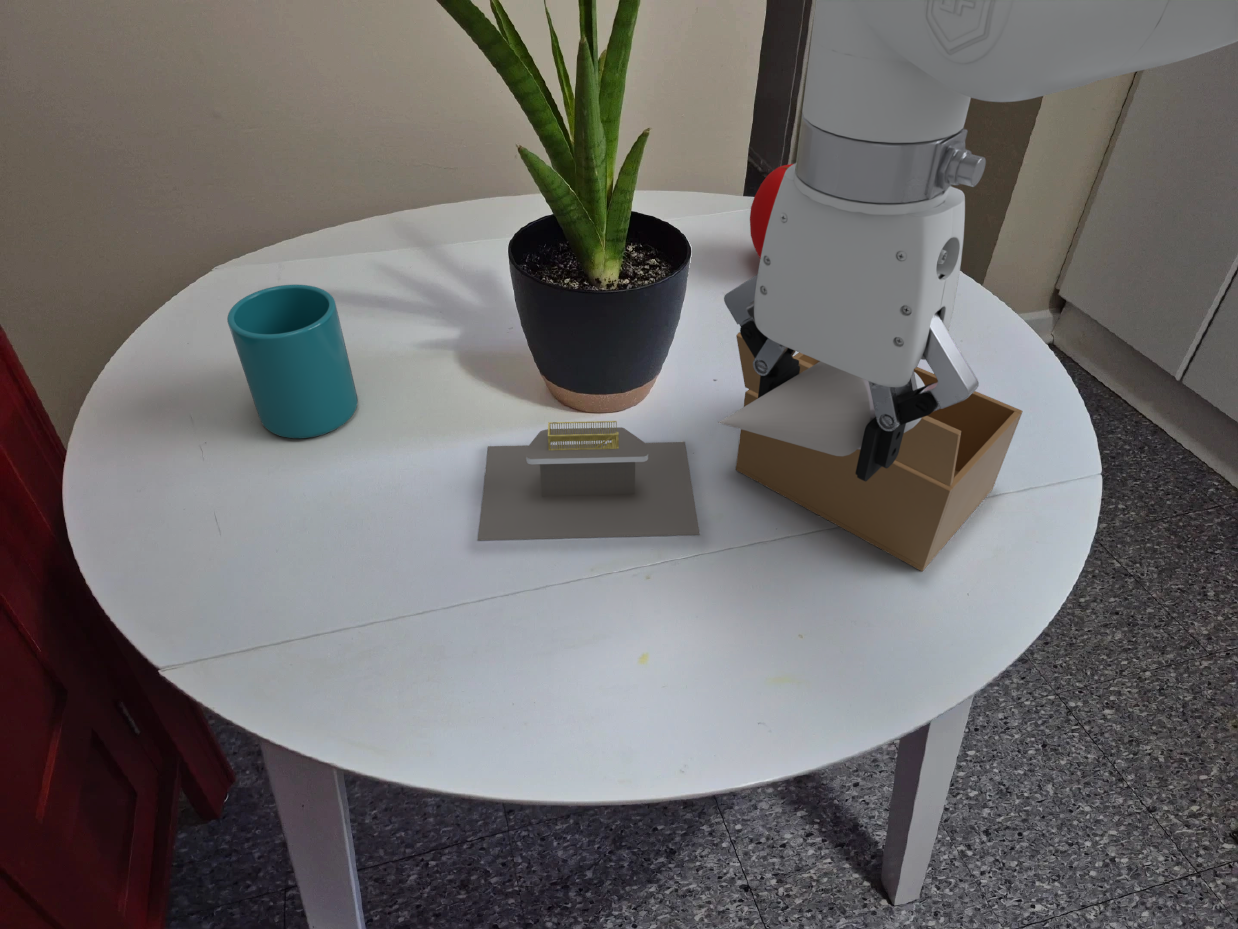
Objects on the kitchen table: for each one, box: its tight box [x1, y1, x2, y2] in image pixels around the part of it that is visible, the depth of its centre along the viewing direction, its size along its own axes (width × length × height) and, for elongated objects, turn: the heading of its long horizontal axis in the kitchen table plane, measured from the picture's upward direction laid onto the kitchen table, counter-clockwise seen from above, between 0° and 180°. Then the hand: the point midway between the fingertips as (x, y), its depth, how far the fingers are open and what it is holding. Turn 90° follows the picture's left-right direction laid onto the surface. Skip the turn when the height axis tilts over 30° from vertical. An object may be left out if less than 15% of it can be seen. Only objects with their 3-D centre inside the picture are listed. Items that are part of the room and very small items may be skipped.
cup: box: [227, 284, 359, 439], centre depth 80 cm, size 9×12×11 cm
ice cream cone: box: [717, 361, 925, 456], centre depth 53 cm, size 6×6×15 cm
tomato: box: [749, 163, 794, 260], centre depth 101 cm, size 11×11×13 cm
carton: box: [735, 352, 1023, 572], centre depth 73 cm, size 18×13×8 cm
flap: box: [735, 331, 961, 486], centre depth 64 cm, size 18×6×1 cm
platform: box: [477, 420, 701, 541], centre depth 73 cm, size 12×18×7 cm, turn 92°
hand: (822, 442), depth 54 cm, fingers closed on ice cream cone, 6 cm apart
